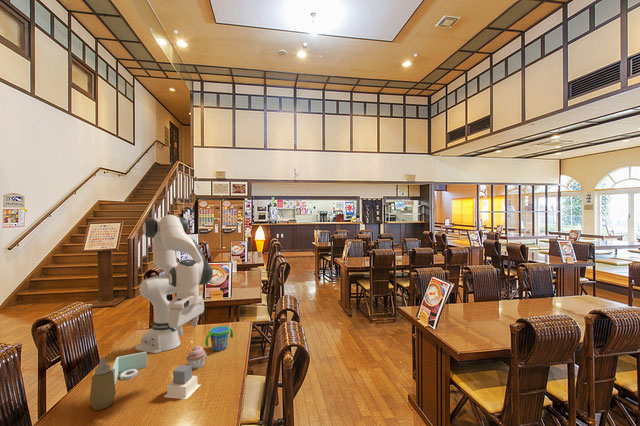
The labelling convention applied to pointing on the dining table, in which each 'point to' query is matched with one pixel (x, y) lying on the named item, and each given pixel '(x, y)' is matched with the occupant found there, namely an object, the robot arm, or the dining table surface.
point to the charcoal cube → (182, 374)
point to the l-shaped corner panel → (129, 365)
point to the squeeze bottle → (102, 386)
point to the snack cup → (219, 337)
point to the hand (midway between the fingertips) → (187, 330)
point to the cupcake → (196, 357)
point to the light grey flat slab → (182, 397)
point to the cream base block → (182, 388)
